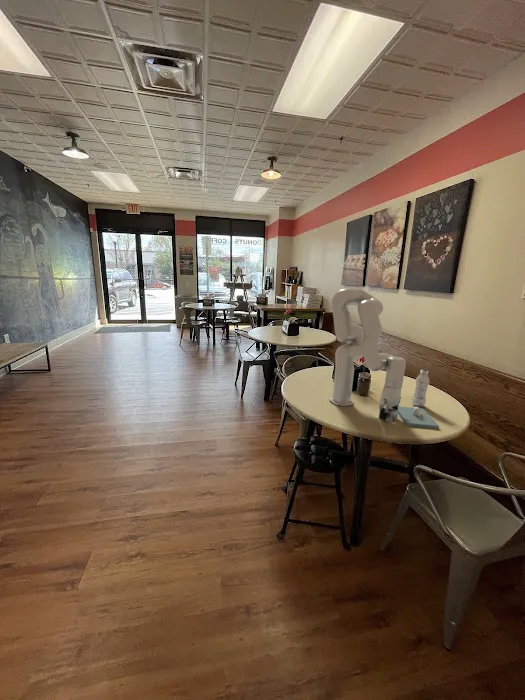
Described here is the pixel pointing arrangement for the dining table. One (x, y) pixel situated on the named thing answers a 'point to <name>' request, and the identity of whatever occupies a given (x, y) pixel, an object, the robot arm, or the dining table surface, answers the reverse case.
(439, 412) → the dining table surface
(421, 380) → the plastic bottle
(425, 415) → the base plate
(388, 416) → the collar
